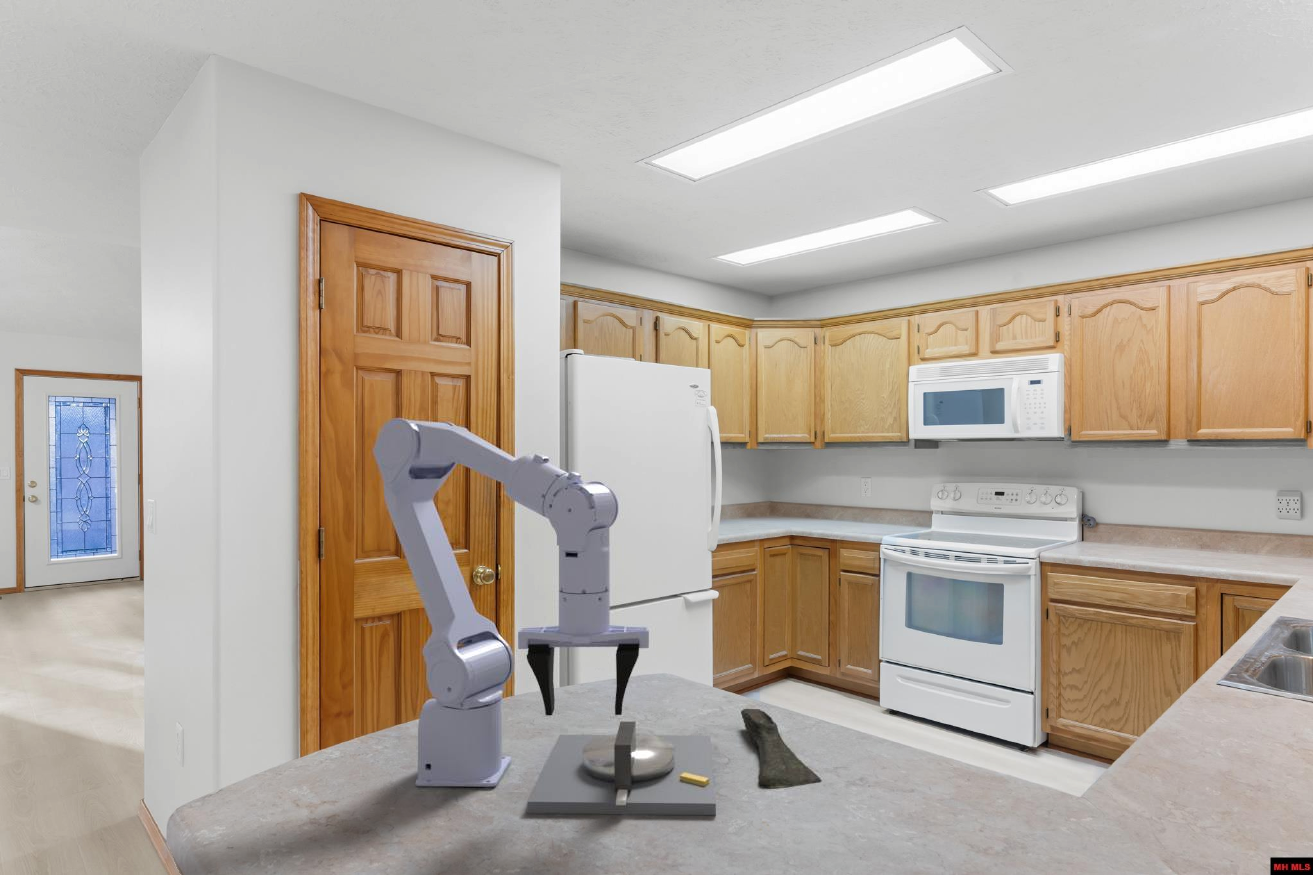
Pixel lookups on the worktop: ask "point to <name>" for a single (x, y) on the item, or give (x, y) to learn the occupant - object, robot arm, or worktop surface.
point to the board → (668, 794)
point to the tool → (775, 753)
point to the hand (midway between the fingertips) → (584, 712)
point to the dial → (628, 757)
